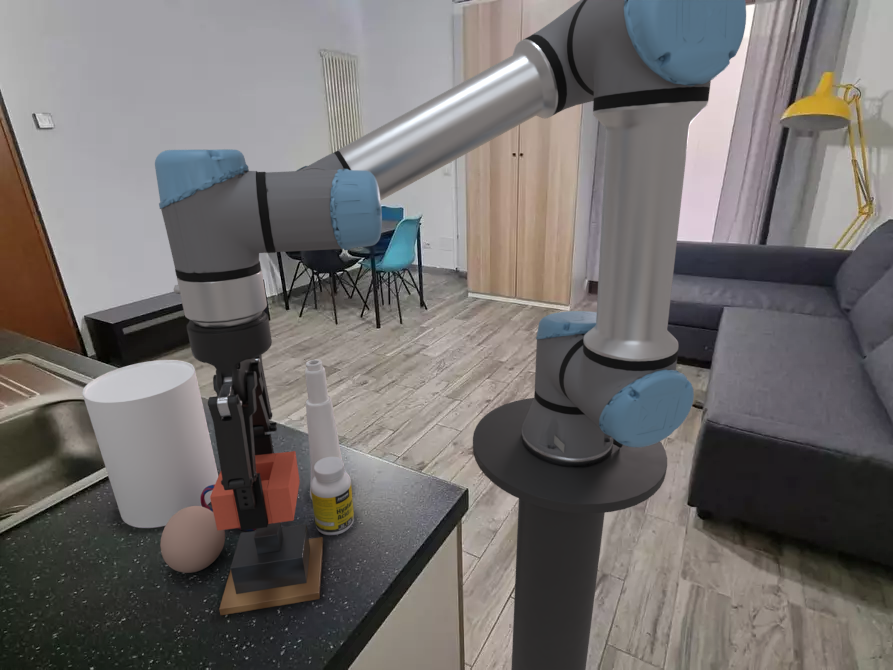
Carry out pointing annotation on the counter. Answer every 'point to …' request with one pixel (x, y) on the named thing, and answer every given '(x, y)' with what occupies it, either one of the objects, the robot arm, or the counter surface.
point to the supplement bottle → (332, 496)
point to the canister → (152, 439)
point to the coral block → (277, 490)
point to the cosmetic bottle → (320, 416)
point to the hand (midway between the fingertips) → (260, 502)
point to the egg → (191, 540)
